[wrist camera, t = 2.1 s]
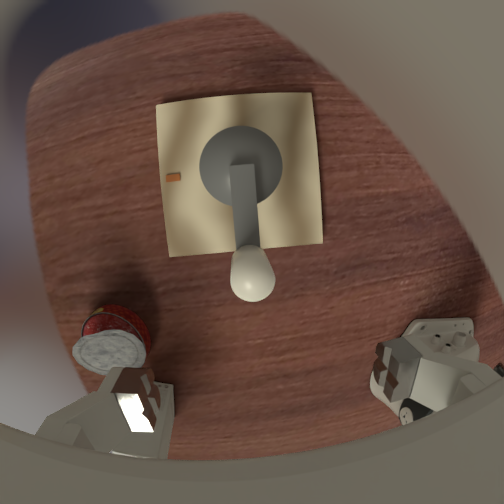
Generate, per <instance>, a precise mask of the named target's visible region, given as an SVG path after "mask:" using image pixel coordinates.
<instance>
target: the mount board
mask: <svg viewBox="0 0 504 504" xmlns="http://www.w3.org/2000/svg"><path fill="white" fill-rule="evenodd" d="M156 119H157V139H158V155H159V168H160V180H161V190H162V200H163V210H164V218H165V227H166V234H167V242H168V249H169V256H170V257H176V256H187V255H198V254H209V253H220V252H231V251H236V242H235V232H234V221H233V210H232V206H229V205H226V204H223V203H222V202H220V201H218V200H217V199H215V198H214V197H213V196H212V195H211V194H210V193H209V192H208V191H207V190H206V188H205V186H204V184H203V182H202V180H201V176H200V171H199V162H200V157H201V153H202V151H203V149H204V147H205V145H206V144H207V142H208V141H209V140H210V139H211V138H212V137H213V136H214V135H215V134H217V133H218V132H220V131H221V130H223V129H226V128H229V127H233V126H250V127H254V128H256V129H259V130H261V131H263V132H264V133H266V134H267V135H268V136H269V137H270V138H271V139H272V140H273V141H274V142H275V143H276V145H277V147H278V148H279V151H280V153H281V157H282V162H283V170H282V176H281V179H280V182H279V184H278V186H277V188H276V189H275V190H274V192H273V193H272V194H271V195H270V196H269V197H268V198H266V199H265V200H264V201H262V202H260V203H258V204H257V208H258V221H259V234H260V247H261V249H264V248H275V247H286V246H297V245H308V244H319V243H323V234H322V210H321V192H320V177H319V163H318V151H317V140H316V130H315V121H314V112H313V103H312V95H311V93H256V94H240V95H227V96H217V97H207V98H199V99H192V100H184V101H178V102H171V103H166V104H160V105H156Z"/></svg>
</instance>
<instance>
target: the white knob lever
mask: <svg viewBox="0 0 504 504" xmlns="http://www.w3.org/2000/svg"><path fill="white" fill-rule="evenodd" d="M282 170H283V162H282V157H281V153H280V151H279V148H278V147H277V145H276V143H275V142H274V141H273V140H272V139H271V138H270V137H269V136H268V135H267V134H266V133H264V132H263V131H261V130H259V129H256V128H254V127H250V126H233V127H229V128H226V129H223V130H221V131H220V132H218V133H217V134H215V135H214V136H213V137H212V138H211V139H210V140H209V141H208V142H207V144H206V145H205V147H204V149H203V151H202V153H201V157H200V162H199V171H200V176H201V180H202V182H203V184H204V186H205V188H206V190H207V191H208V192H209V193H210V194H211V195H212V196H213V197H214V198H215V199H217V200H218V201H220V202H222V203H223V204H226V205H229V206H232V210H233V221H234V232H235V242H236V251H235V252H234V254H233V256H232V261H231V287H232V289H233V291H234V293H235V294H236V295H237V296H238V297H239V298H241V299H243V300H245V301H250V302H255V301H260V300H262V299H264V298H266V297H267V296H268V295H269V294H270V293H271V292H272V290H273V288H274V285H275V275H274V272H273V270H272V267H271V265H270V263H269V261H268V258H267V256H266V254H265V252H264V251H263V250H262V249H261V247H260V234H259V221H258V208H257V204H258V203H260V202H262V201H264V200H265V199H266V198H268V197H269V196H270V195H271V194H272V193H273V192H274V190H275V189H276V188H277V186H278V184H279V182H280V179H281V176H282Z"/></svg>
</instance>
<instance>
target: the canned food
mask: <svg viewBox="0 0 504 504" xmlns="http://www.w3.org/2000/svg"><path fill="white" fill-rule="evenodd" d="M150 347H151V338H150V334H149V331H148V329H147V327H146V325H145V323H144V322H143V321H142V320H141V318H140V317H139V316H138V315H136V314H135V313H134V312H133V311H131V310H130V309H128V308H125V307H123V306H120V305H114V304H109V305H104V306H101V307H99V308H98V309H97V310H95V311H94V312H93V313H92V314H91V315H90V316H89V317H88V318H87V319H86V320H85V322H84V324H83V326H82V330H81V338H80V339H79V340H78V342H77V343H76V344H75V345H74V346H73V356H74V358H75V359H76V361H77V362H78V363H79V364H81V365H82V366H84V367H85V368H86V369H88V370H90V371H93V372H96V373H98V374H100V375H107V374H108V372H109V371H110V369H111V368H112V367H134V368H141V367H142V366H143V364H144V362H145V359H146V357H147V355H148V353H149V351H150Z"/></svg>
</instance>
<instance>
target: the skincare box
mask: <svg viewBox="0 0 504 504" xmlns="http://www.w3.org/2000/svg"><path fill="white" fill-rule="evenodd" d="M153 383H154V384H155V385H156V386H157V387H158V388H159V391H160V397H161V406H160V410H159V412H157V413H156V414H155V416H156V418H157V421H156V424H155V428H154V431H153V432H142V431H131V433H130V434H129V435H128V436H126V437H125V438H124V439H123V440H122V441H121V442H120V443H119V444H118V445H117V446H116V447H114V448H113V449H112V453H113V454H119V455H126V456H135V457H144V458H155V459H167V456H168V450H169V444H170V438H171V433H172V427H173V422H174V394H173V385H172V384H166V383H160V382H155V381H154V382H153Z"/></svg>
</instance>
